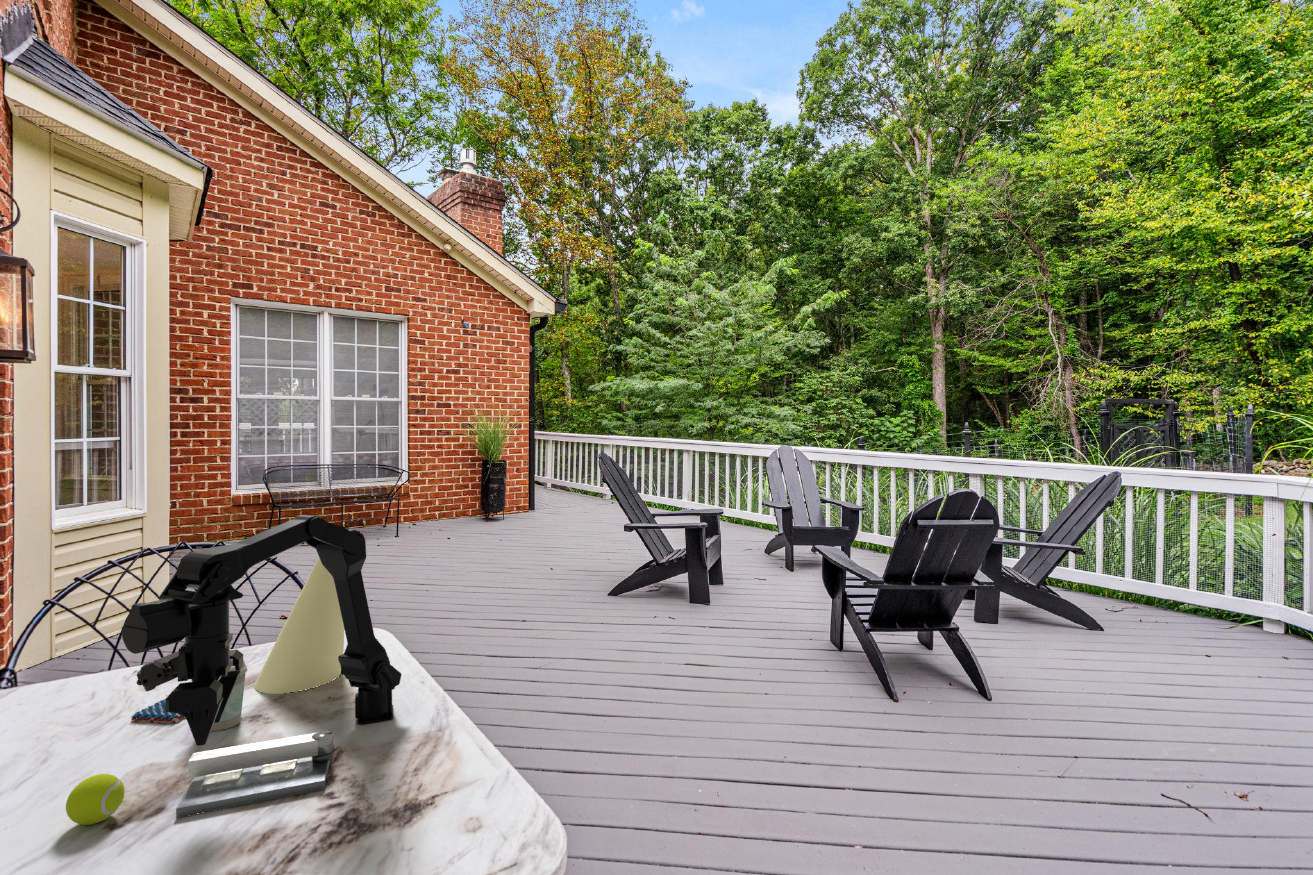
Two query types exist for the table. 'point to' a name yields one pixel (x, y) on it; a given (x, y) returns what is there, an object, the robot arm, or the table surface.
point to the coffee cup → (233, 703)
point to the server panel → (254, 785)
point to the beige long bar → (259, 754)
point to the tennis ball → (95, 799)
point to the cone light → (307, 640)
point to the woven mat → (157, 714)
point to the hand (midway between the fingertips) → (208, 733)
